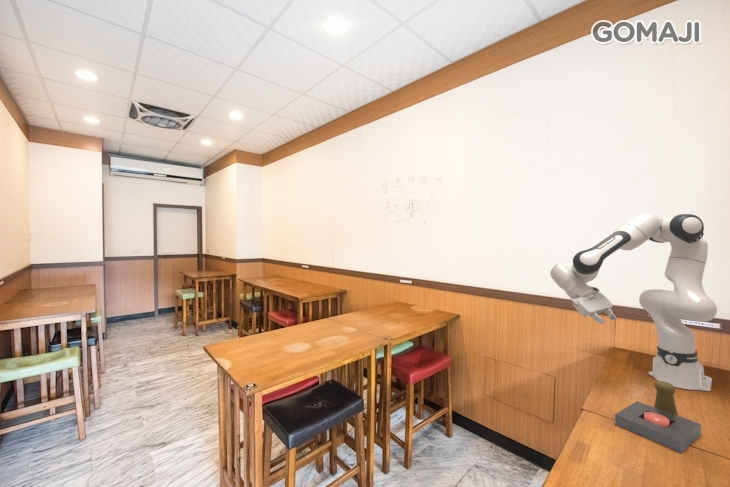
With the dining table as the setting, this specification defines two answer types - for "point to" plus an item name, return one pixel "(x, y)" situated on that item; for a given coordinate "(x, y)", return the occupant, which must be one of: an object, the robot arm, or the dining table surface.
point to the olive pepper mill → (665, 397)
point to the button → (657, 419)
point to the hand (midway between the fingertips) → (609, 321)
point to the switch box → (672, 436)
